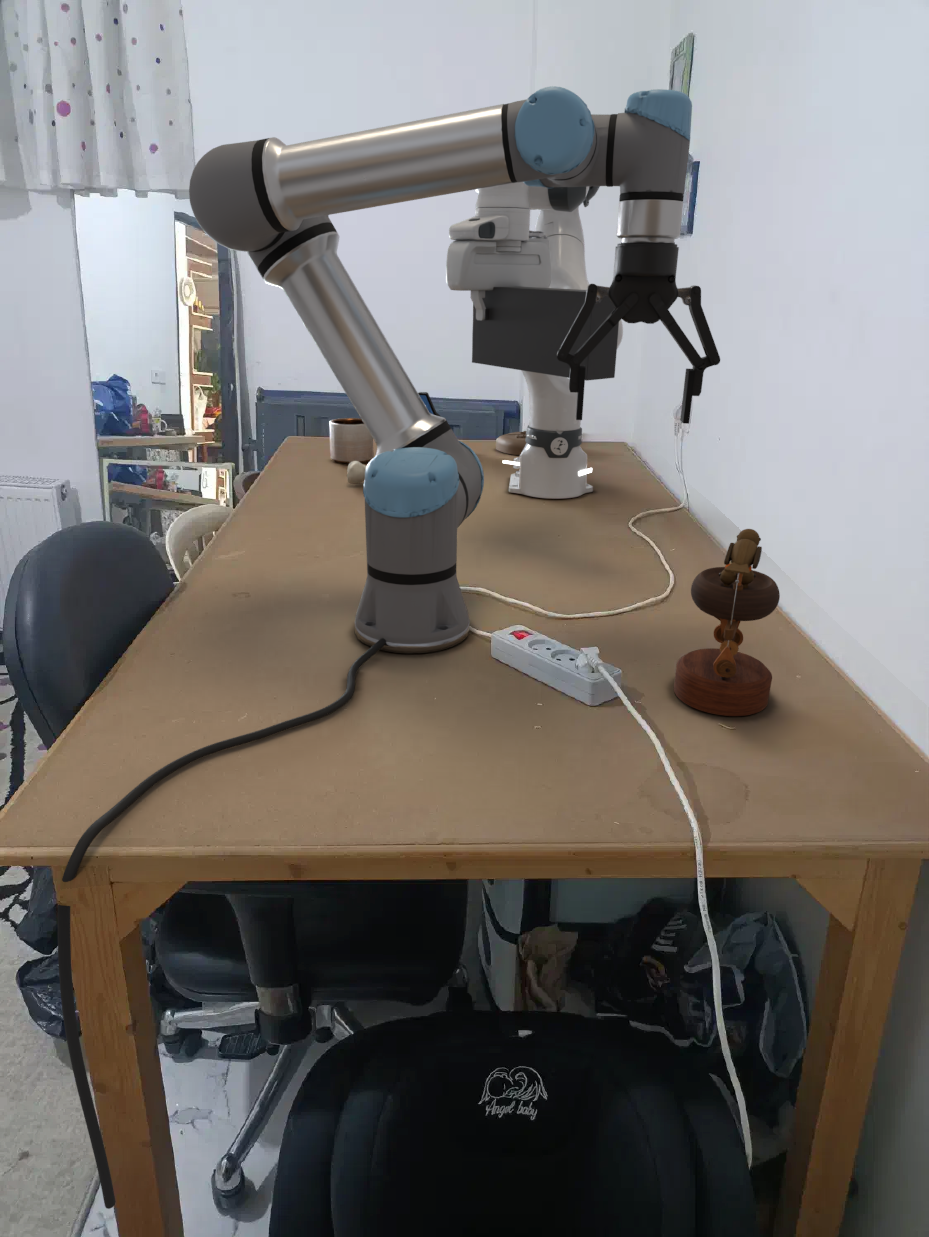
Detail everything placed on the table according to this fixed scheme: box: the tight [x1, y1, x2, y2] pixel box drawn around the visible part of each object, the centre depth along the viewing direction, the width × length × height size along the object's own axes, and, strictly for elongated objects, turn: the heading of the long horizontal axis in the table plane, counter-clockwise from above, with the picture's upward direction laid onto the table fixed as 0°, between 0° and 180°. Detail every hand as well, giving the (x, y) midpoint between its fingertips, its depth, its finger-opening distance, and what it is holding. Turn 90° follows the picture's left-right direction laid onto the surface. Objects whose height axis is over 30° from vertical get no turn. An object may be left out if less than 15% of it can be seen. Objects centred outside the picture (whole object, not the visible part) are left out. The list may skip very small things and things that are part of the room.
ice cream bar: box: [495, 430, 527, 456], centre depth 223 cm, size 21×28×4 cm
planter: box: [328, 417, 375, 464], centre depth 212 cm, size 11×11×10 cm
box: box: [471, 287, 619, 381], centre depth 135 cm, size 28×6×12 cm, turn 38°
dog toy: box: [346, 461, 367, 485], centre depth 190 cm, size 20×6×5 cm, turn 99°
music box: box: [673, 528, 781, 717], centre depth 94 cm, size 15×11×20 cm
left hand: (631, 420), depth 110 cm, fingers open, 13 cm apart
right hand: (499, 319), depth 142 cm, fingers closed on box, 6 cm apart
